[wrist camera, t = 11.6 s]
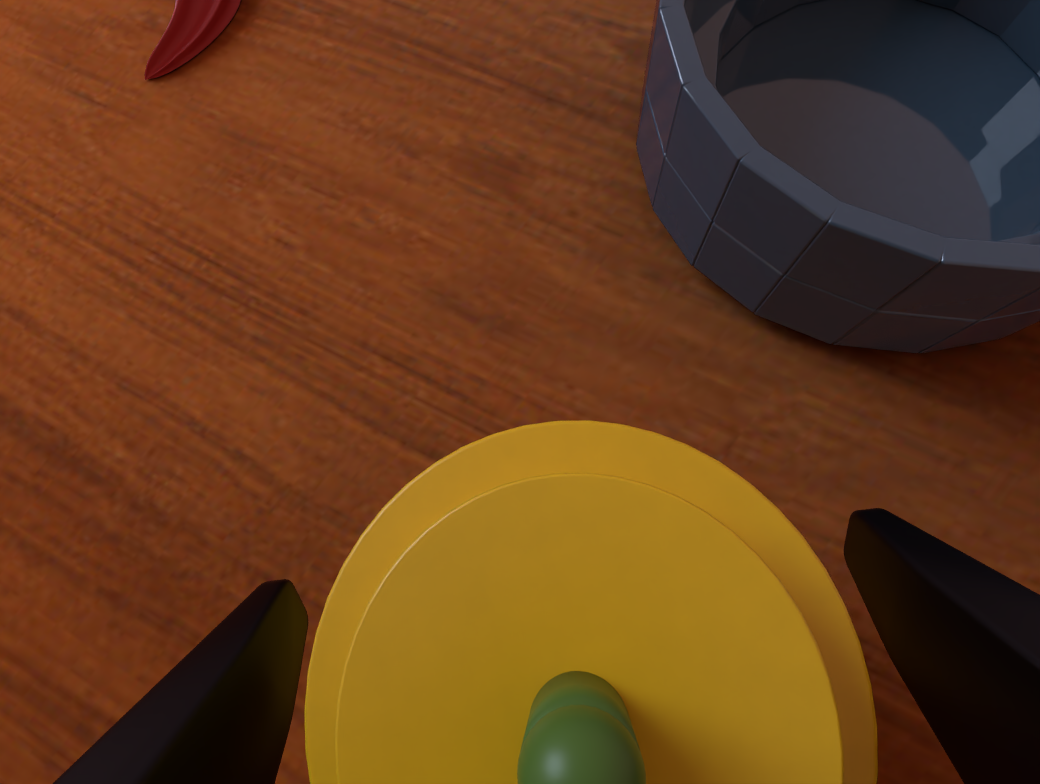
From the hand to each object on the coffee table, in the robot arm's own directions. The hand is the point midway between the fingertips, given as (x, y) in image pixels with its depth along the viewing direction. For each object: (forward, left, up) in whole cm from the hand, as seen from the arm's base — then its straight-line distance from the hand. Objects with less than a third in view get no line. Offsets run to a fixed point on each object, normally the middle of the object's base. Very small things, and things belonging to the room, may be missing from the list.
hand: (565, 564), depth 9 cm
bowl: (+2, -16, -7) cm, 17 cm away
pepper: (-1, +1, -7) cm, 7 cm away
